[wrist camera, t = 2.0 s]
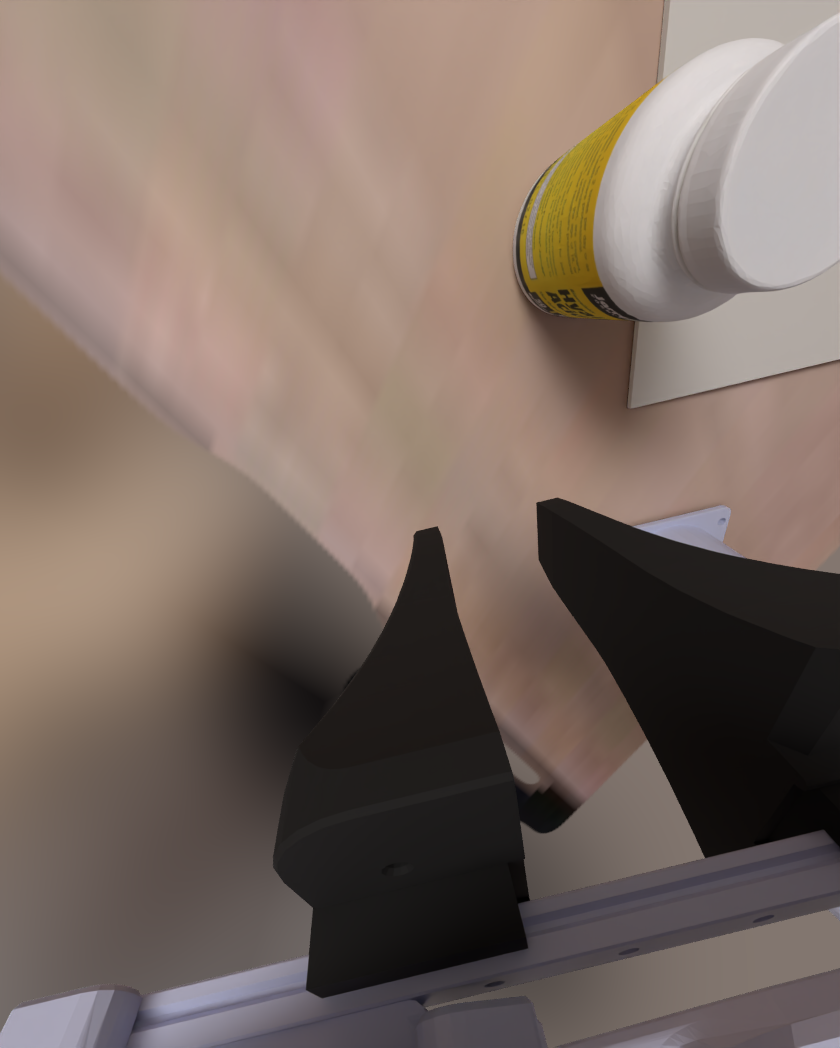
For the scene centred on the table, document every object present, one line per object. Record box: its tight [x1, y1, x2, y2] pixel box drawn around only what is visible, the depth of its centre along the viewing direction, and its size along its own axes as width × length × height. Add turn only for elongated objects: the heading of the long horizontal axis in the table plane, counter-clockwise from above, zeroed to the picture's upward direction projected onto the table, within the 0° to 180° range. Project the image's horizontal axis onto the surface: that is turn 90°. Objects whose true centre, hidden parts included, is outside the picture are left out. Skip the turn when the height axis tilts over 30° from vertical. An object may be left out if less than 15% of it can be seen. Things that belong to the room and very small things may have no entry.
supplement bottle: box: [513, 13, 840, 322], centre depth 11 cm, size 5×5×10 cm
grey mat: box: [627, 0, 840, 409], centre depth 15 cm, size 15×16×1 cm
